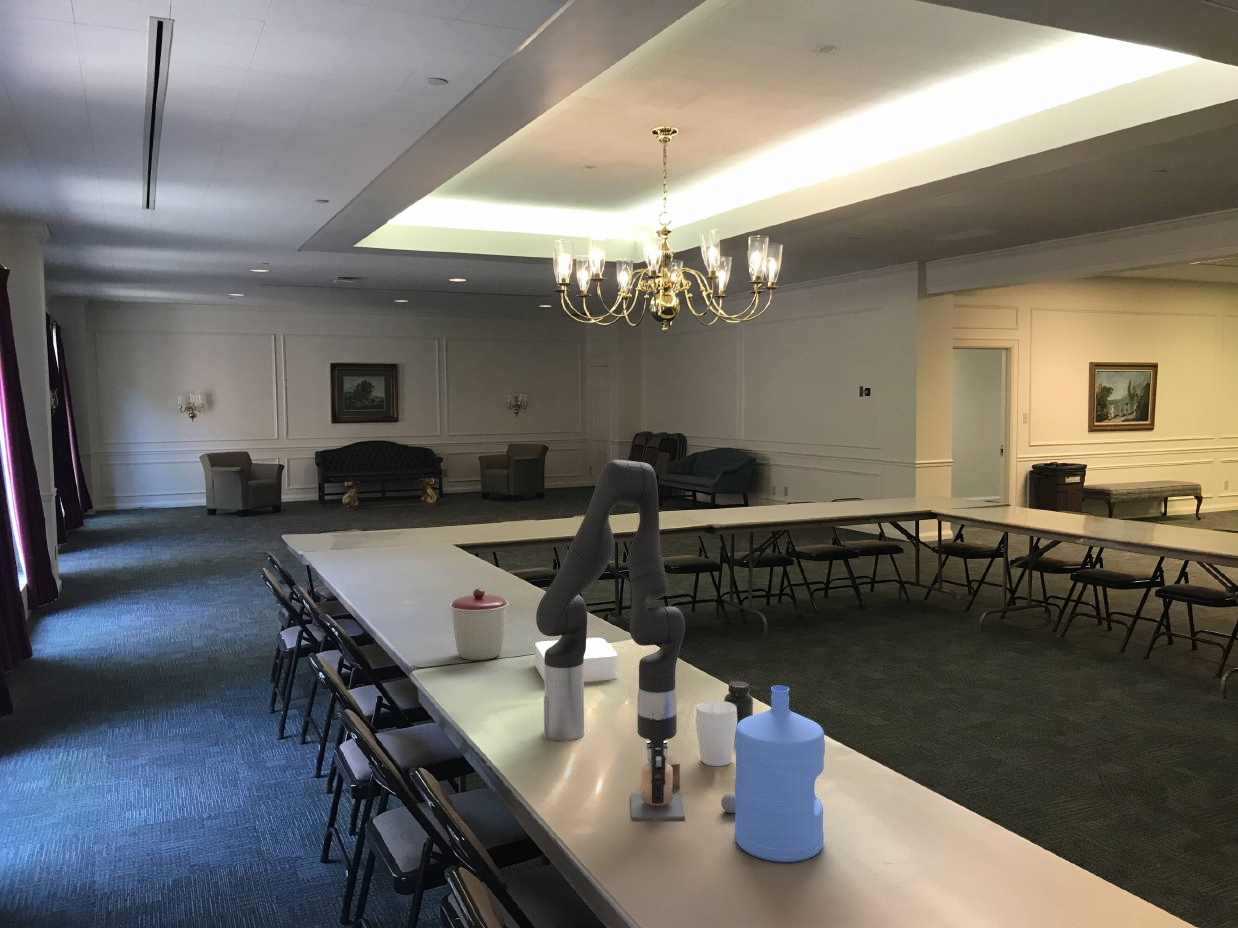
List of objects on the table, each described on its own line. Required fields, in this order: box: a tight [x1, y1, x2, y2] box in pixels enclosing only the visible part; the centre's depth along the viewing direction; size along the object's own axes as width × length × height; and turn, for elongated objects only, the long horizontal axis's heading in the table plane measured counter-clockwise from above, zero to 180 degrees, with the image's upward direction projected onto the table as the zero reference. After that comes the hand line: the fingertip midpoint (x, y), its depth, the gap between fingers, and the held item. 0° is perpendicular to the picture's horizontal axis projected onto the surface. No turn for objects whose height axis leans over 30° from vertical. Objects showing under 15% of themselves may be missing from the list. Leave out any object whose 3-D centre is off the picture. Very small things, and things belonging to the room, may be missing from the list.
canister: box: [448, 588, 509, 661], centre depth 280 cm, size 18×18×21 cm
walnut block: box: [667, 754, 681, 789], centre depth 187 cm, size 5×5×5 cm
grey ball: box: [720, 792, 736, 814], centre depth 174 cm, size 4×4×4 cm
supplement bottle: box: [723, 680, 754, 736], centre depth 215 cm, size 7×7×12 cm
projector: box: [534, 637, 619, 683], centre depth 265 cm, size 21×22×7 cm
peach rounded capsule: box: [641, 763, 674, 805], centre depth 176 cm, size 6×6×6 cm
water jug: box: [734, 685, 826, 863], centre depth 161 cm, size 16×16×28 cm
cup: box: [695, 699, 737, 767], centre depth 199 cm, size 9×9×12 cm
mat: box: [630, 792, 686, 821], centre depth 176 cm, size 10×10×1 cm
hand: (656, 794), depth 176 cm, fingers closed on peach rounded capsule, 6 cm apart
